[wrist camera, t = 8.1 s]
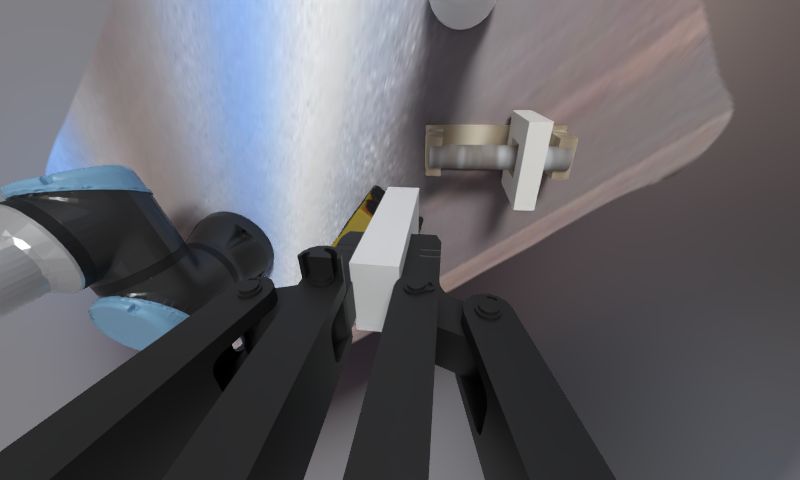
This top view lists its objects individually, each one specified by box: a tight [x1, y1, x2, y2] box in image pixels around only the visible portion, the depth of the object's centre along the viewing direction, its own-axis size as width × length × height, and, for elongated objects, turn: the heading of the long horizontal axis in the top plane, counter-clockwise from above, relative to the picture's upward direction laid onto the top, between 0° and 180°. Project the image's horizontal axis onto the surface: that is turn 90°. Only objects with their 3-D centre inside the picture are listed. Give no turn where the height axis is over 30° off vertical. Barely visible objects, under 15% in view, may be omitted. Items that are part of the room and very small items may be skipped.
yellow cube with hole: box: [332, 185, 423, 247], centre depth 48 cm, size 10×10×10 cm
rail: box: [425, 125, 579, 180], centre depth 40 cm, size 19×6×8 cm, turn 91°
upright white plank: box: [501, 110, 554, 211], centre depth 38 cm, size 2×10×10 cm, turn 1°
